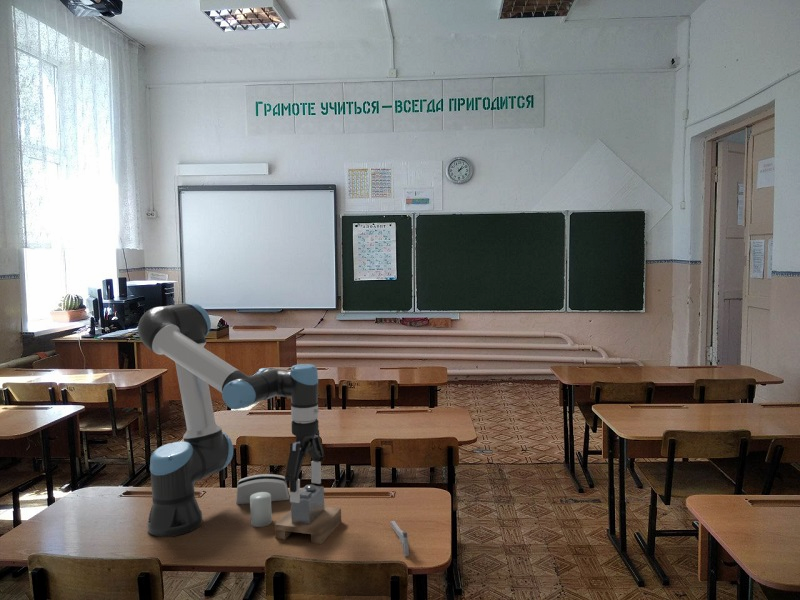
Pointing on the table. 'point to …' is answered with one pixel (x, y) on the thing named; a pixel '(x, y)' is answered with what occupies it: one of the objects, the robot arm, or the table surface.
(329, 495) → the table surface
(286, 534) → the stand
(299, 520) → the housing
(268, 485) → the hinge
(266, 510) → the pale grey pebble
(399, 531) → the caliper
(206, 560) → the table surface
